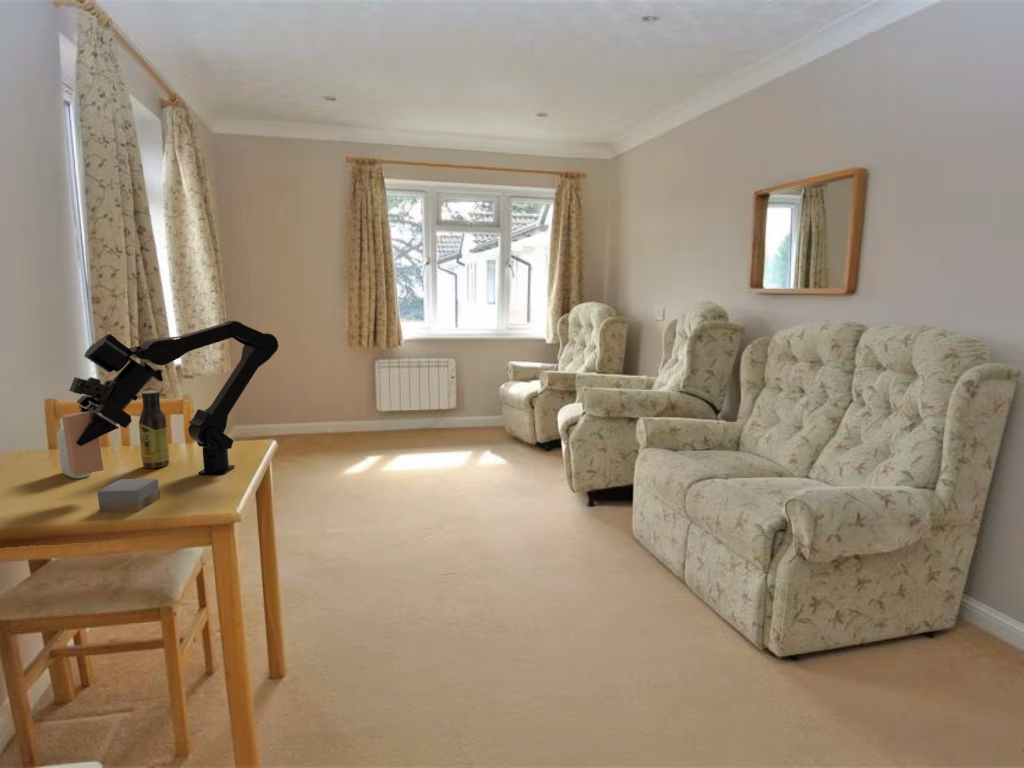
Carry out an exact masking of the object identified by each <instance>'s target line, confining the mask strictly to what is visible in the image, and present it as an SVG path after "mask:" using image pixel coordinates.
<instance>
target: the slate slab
mask: <svg viewBox="0 0 1024 768" xmlns="http://www.w3.org/2000/svg"><path fill="white" fill-rule="evenodd" d="M157 490H160V489H159V479H158V478H129V479H128V478H127V479H126V478H124V479H118V480H116V481H114V482H112V483H110V484H109V485H107V486H105V487H103V488H101V489H99V490H97V492H96V493H97V501H98V504H99V503H126V502H140V501H142V500H143V499H145V498H146V497H148V496H149V495H151V494H152V493H154V492H156V491H157Z"/></svg>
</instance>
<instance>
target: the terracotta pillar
mask: <svg viewBox="0 0 1024 768" xmlns="http://www.w3.org/2000/svg"><path fill="white" fill-rule="evenodd" d="M61 419H62V426H63V427H64V434H65V440H66V447H67V454H68V461H69V468H70V471H71V472H72V473H73V474H75V475H76V476H77V475H82V474H87V473H91V474H92V473H95V472H96V473H97V472H101V471H104V463H103V456H102V450H101V441H100V437H98V438H96V439H94V440H92V441H90V442H88V443H86V444H84V445H82V446H80V445H78V444H77V443H76V442H77V441H78V439H79V438H80V436H81V434H82V433H83V432H84V430H85V429H86V427H87V426H88V424H89V423H90V421H91V417H90V411H88V412H81V413H80V412H76V413H68V414H62V415H61Z"/></svg>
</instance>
